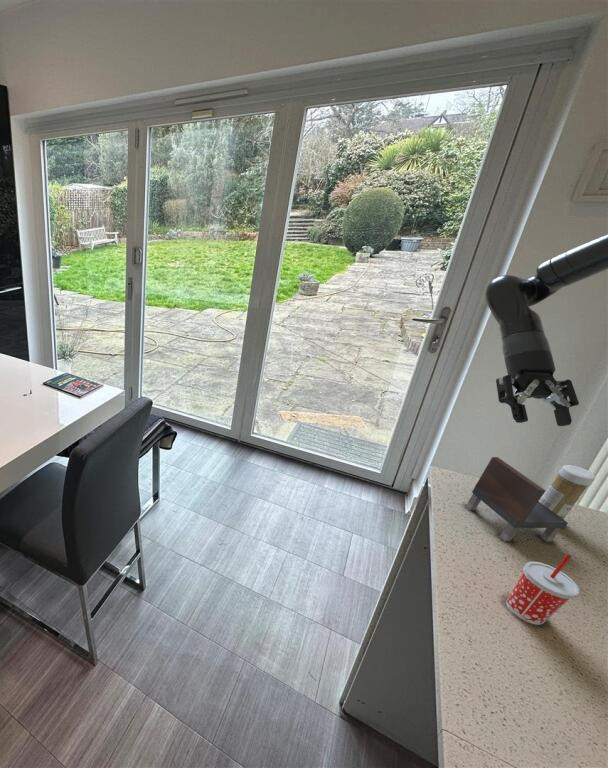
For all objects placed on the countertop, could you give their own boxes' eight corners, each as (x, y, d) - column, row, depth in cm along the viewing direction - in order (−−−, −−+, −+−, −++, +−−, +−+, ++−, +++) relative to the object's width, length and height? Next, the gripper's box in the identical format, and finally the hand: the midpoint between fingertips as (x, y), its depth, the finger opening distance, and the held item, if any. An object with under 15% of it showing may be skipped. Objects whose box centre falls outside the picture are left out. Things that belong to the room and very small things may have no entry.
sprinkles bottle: (562, 531, 85) (600, 481, 78) (533, 522, 87) (568, 473, 80) (554, 517, 88) (590, 468, 82) (526, 509, 90) (559, 461, 84)
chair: (506, 508, 90) (539, 457, 84) (551, 544, 82) (592, 491, 75) (462, 507, 90) (492, 456, 84) (503, 544, 81) (539, 490, 75)
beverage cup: (554, 620, 67) (604, 562, 61) (539, 638, 64) (591, 579, 58) (507, 591, 72) (549, 534, 65) (492, 606, 69) (534, 548, 63)
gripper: (508, 346, 91) (524, 417, 86) (578, 351, 90) (598, 422, 85) (480, 358, 98) (493, 424, 93) (544, 363, 97) (561, 430, 92)
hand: (543, 423), depth 89 cm, fingers open, 8 cm apart
